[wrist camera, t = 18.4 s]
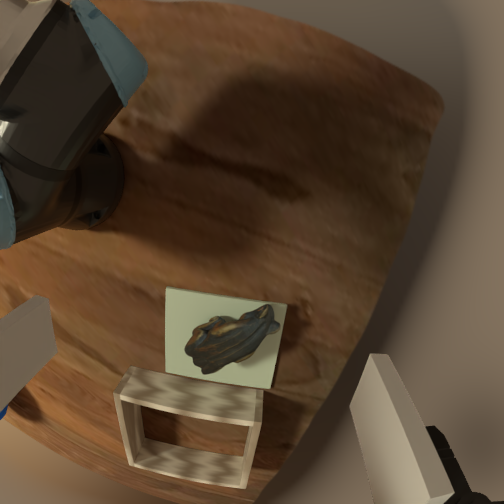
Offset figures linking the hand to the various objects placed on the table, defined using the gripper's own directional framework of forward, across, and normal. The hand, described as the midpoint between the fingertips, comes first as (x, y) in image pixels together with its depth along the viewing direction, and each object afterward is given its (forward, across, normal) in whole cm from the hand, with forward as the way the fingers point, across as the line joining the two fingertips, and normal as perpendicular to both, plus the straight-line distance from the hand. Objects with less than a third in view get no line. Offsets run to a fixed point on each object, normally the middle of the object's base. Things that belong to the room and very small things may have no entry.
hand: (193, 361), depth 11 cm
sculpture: (+33, 0, -20) cm, 39 cm away
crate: (+33, -6, -40) cm, 52 cm away
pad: (+33, -2, -20) cm, 38 cm away
